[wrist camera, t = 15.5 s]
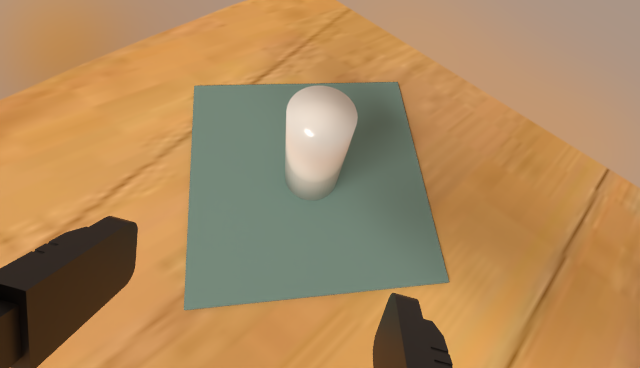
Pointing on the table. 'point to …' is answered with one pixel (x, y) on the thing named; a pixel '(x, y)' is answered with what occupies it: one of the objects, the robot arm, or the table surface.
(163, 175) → the table surface
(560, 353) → the table surface
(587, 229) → the table surface
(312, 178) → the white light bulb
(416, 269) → the felt mat
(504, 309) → the table surface
